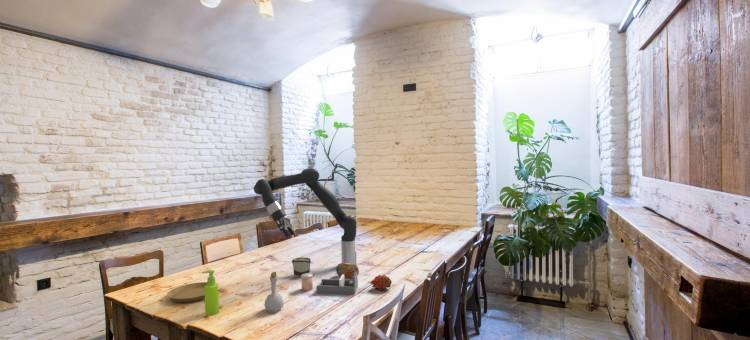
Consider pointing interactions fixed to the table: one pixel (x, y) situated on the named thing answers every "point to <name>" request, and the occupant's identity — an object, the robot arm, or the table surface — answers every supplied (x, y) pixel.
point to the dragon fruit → (381, 282)
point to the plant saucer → (188, 292)
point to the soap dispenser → (211, 294)
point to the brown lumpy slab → (347, 270)
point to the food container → (301, 266)
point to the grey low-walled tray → (333, 286)
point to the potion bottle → (273, 297)
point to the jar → (307, 281)
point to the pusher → (341, 281)
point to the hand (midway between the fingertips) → (290, 235)
